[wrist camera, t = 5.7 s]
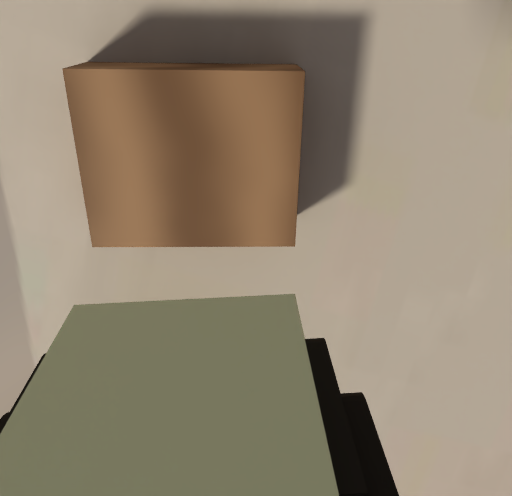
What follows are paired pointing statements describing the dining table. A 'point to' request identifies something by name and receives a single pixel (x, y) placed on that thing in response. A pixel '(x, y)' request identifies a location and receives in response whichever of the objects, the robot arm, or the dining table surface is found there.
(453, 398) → the dining table surface
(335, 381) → the robot arm
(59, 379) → the green cube
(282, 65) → the walnut block
